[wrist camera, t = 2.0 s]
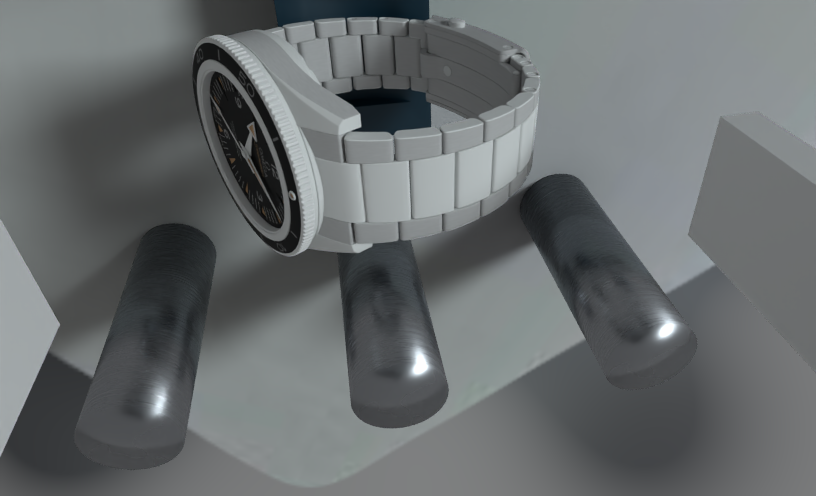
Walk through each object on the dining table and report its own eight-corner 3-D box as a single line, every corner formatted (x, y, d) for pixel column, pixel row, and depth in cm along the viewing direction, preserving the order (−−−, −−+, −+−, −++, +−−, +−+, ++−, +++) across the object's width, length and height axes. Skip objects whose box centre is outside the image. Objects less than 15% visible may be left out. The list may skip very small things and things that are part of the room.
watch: (204, -61, 18) (119, 74, 9) (465, -79, 19) (611, 30, 10) (243, 112, 21) (207, 328, 13) (462, 90, 22) (570, 281, 14)
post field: (-135, -395, 13) (-639, -617, 6) (682, -430, 15) (1040, -637, 8) (152, 285, 25) (97, 476, 18) (582, 227, 27) (685, 382, 20)
